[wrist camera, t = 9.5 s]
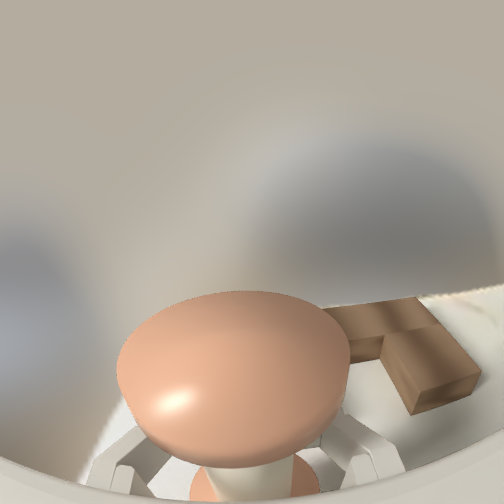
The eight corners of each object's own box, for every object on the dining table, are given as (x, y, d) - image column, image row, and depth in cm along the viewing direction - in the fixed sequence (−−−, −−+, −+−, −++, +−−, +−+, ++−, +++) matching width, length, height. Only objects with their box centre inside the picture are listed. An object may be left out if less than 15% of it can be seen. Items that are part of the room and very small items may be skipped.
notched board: (410, 318, 33) (415, 296, 32) (470, 394, 20) (481, 370, 19) (227, 339, 33) (224, 316, 32) (223, 444, 20) (217, 422, 19)
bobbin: (308, 449, 15) (321, 284, 11) (325, 542, 9) (384, 420, 5) (198, 455, 15) (148, 296, 11) (190, 548, 9) (84, 431, 5)
